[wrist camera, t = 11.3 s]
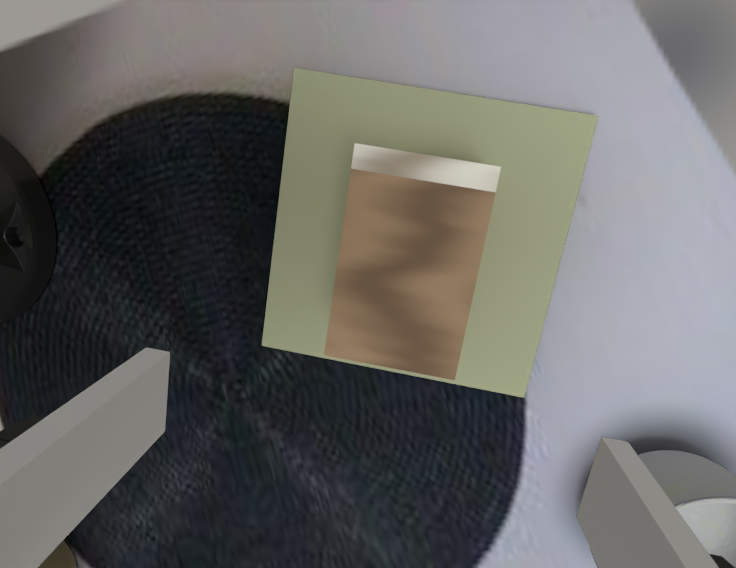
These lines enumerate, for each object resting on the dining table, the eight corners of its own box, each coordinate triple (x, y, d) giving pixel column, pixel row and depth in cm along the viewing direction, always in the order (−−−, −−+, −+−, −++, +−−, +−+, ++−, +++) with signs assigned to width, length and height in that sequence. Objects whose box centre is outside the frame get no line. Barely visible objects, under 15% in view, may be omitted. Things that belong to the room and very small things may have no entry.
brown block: (323, 355, 27) (354, 143, 24) (344, 316, 34) (370, 146, 31) (454, 380, 27) (501, 166, 24) (449, 335, 33) (484, 165, 31)
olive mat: (266, 340, 36) (261, 345, 35) (298, 70, 32) (294, 67, 31) (521, 391, 35) (524, 397, 34) (593, 117, 30) (598, 115, 29)
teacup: (563, 438, 35) (601, 517, 28) (732, 416, 34) (824, 493, 26) (588, 604, 38) (629, 717, 30) (746, 591, 37) (831, 707, 29)
